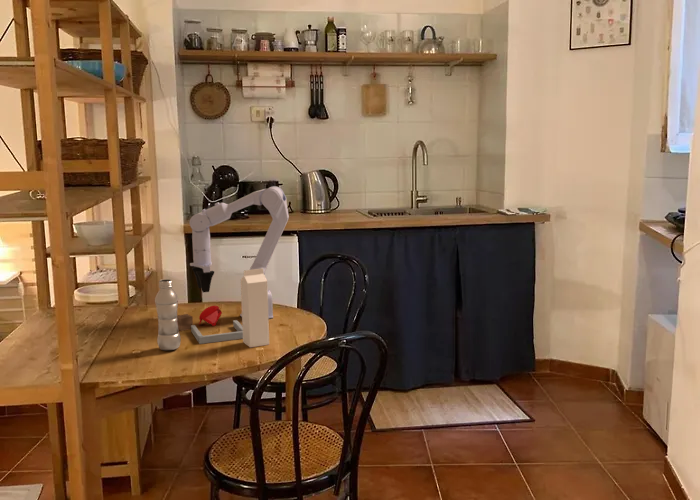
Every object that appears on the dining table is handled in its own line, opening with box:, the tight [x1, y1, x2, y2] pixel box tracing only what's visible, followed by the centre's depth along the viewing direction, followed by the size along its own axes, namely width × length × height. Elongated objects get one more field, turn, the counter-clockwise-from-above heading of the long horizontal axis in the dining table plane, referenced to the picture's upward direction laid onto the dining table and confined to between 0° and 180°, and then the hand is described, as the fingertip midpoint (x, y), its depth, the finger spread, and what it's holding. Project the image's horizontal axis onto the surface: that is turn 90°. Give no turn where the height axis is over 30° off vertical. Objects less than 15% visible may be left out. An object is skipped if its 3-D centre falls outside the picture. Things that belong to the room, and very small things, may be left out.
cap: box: [198, 305, 223, 327], centre depth 221 cm, size 8×6×6 cm
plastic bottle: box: [154, 278, 181, 351], centre depth 194 cm, size 6×7×20 cm
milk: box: [240, 269, 270, 348], centre depth 199 cm, size 6×6×22 cm
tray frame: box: [190, 319, 243, 345], centre depth 209 cm, size 14×14×2 cm
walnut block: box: [177, 313, 194, 332], centre depth 217 cm, size 4×4×4 cm
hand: (203, 289), depth 228 cm, fingers open, 6 cm apart
